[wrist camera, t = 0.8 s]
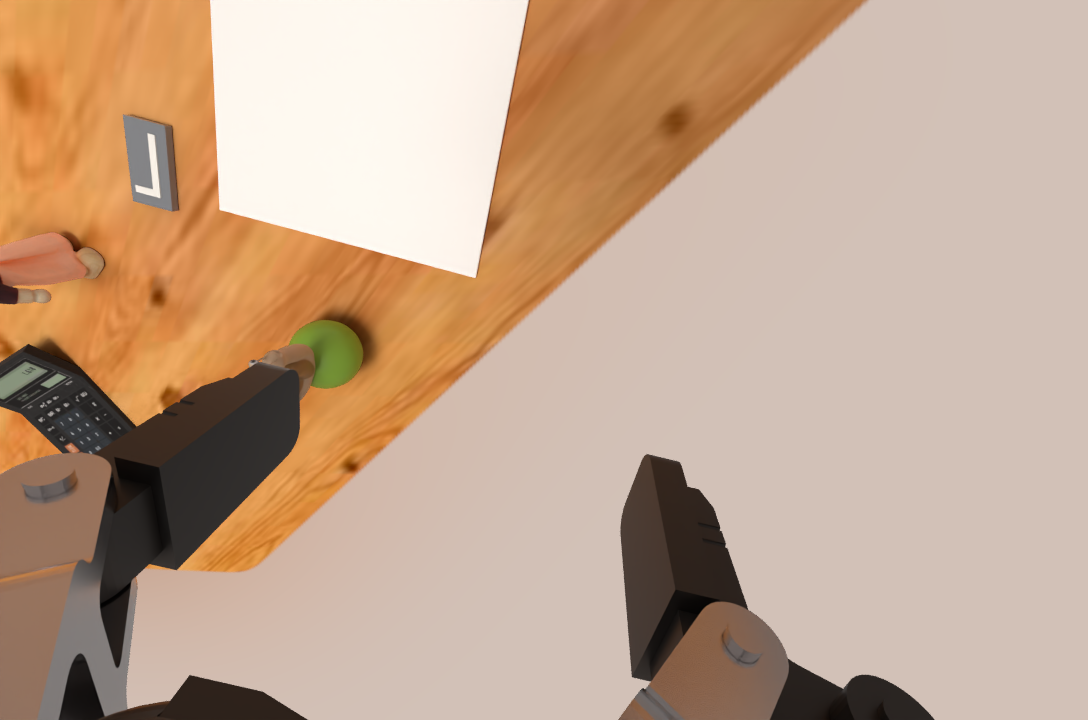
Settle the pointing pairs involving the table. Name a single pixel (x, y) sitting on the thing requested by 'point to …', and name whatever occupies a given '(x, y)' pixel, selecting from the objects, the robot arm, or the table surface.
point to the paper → (366, 118)
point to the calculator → (60, 401)
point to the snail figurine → (319, 355)
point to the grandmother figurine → (43, 266)
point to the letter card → (151, 162)
